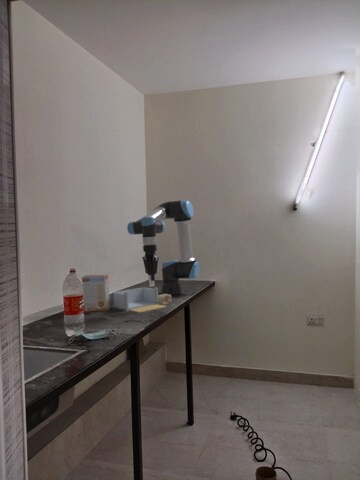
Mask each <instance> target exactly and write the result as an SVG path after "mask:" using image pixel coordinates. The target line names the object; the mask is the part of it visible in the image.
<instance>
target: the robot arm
mask: <svg viewBox="0 0 360 480" xmlns="http://www.w3.org/2000/svg"><path fill="white" fill-rule="evenodd" d="M193 217H194V207H193V204H192V203H191V201H190V200H184V199H182V200H173V201H171V200H170V201H165V202H163V203H161V204H159V205H157V206H155V207H154V208H153V210H152V211H150V212H149V213H148V214H145V215H144V216H142V217H141V218H139V219H138V220H136V221H130V222H129V223H128V224H127V227H126V228H127V233H128V234H129V235H142V244H143V245H142V250H143V251H142V252H144V256H142V261H143V264H144V265H143V266H144V271H145V274H147V276H148V277H147V278H148V285H149V286H148V288H151V287H152V288H153V287H155V286H156V285H155V280H156V278H155V275H156V274H157V273H158V266H159V265H158V262H159V259H160V257H159V256H156V255H157V253H156V252H157V235H156V234H161V233H164V232H165V230H166V223H165V222H164V221H163V220H168V219H173V222H174V223H175V224H176V229H177V236H178V237H177V238H178V245H179V256H180V258H179V259H173V260H168V261H167V260H166V261H163V262H162V264H161V273H162V274H161V277H162V285H161V289H160V295H161V294H169V295H171V296H175V295H181V294H182V293H183V289H182V286H181V283H180V280H182V279H183V280H192V279H197V278H198V276H199V274H200V262H199V261H197V258H196V257H195V256H194V252H193V243H192V235H191V234H192V233H191V227H190V226H191V225H190V222H191V221H192V218H193Z"/></svg>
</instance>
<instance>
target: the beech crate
mask: <svg viewBox="0 0 360 480" xmlns="http://www.w3.org/2000/svg"><path fill="white" fill-rule="evenodd" d="M172 298H173V297H172V295H169V294H161V293H160V294H158V302H159V305H163V306H165V305H168V304H172Z"/></svg>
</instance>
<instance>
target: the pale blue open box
mask: <svg viewBox="0 0 360 480" xmlns="http://www.w3.org/2000/svg"><path fill="white" fill-rule="evenodd" d="M158 295H159V289H158V287H154V288H151V287H138V288H133V289H132V288H131V289H125V290H120V291H119V290H118V291H113V292H112V302H113V303H112V305H113V308H112V309H118V310H120V311H121V310H122V311H125V312H128V311H130V309H135V308H140V307H145V306H151V305H156V304H158V305H160V304H159V302H158Z"/></svg>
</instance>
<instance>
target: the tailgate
mask: <svg viewBox="0 0 360 480" xmlns="http://www.w3.org/2000/svg"><path fill="white" fill-rule="evenodd" d="M164 308H168V306H167V305H163V304H159V305H158V304H156V305H151V306H145V307H140V308H135V309H130V310H129V311H130V312H133V313H139V314H140V313H144V312H145V313H146V312H149V311H150V312H151V311H154V310H160V309H164Z"/></svg>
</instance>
